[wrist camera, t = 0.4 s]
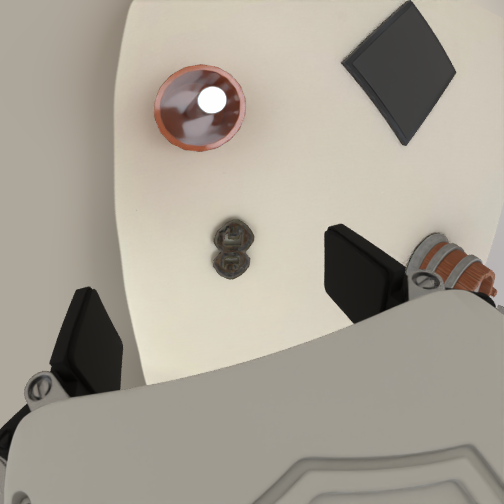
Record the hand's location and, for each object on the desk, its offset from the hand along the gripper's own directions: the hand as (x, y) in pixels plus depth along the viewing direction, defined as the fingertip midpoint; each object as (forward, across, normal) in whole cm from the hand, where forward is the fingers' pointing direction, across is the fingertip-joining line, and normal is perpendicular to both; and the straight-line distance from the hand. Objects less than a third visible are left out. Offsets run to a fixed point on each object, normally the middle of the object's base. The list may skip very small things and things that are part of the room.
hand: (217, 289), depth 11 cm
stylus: (+22, -2, -7) cm, 24 cm away
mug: (+23, -45, +25) cm, 56 cm away
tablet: (+23, -35, -14) cm, 44 cm away
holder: (+23, -2, -7) cm, 24 cm away
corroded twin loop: (+23, -4, +10) cm, 25 cm away
